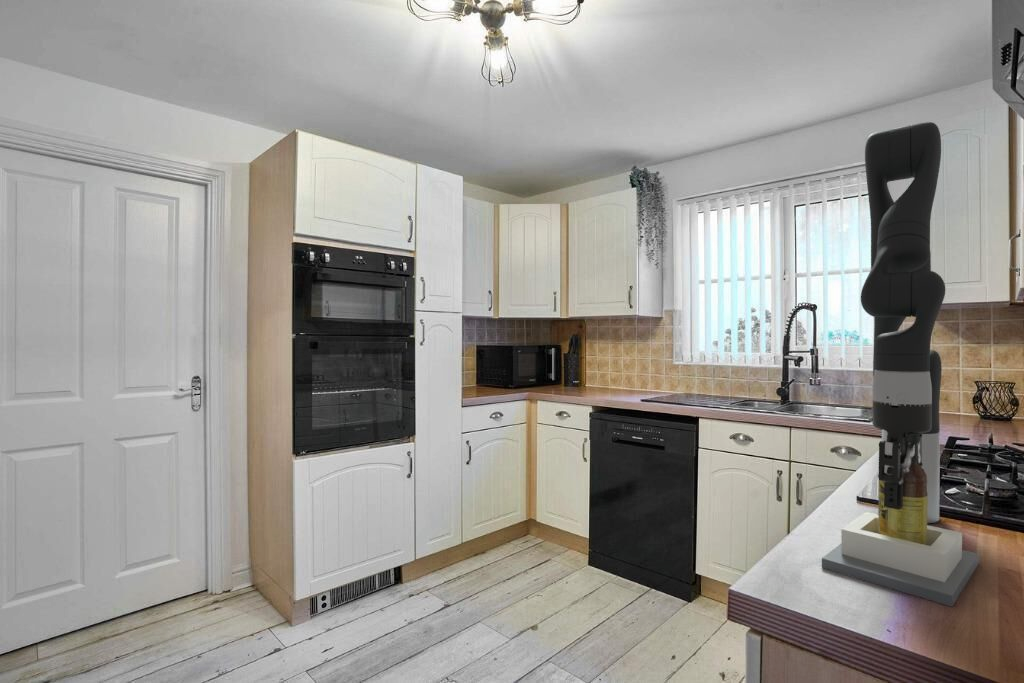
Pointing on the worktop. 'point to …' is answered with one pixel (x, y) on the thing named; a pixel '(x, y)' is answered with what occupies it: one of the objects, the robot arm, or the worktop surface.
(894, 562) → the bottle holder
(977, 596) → the worktop surface
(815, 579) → the worktop surface
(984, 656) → the worktop surface
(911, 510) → the sauce bottle
